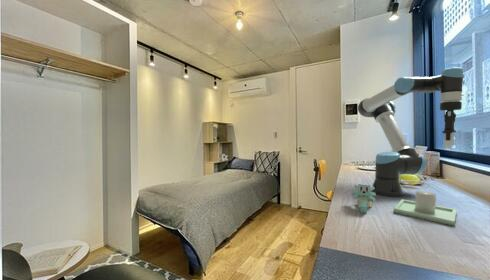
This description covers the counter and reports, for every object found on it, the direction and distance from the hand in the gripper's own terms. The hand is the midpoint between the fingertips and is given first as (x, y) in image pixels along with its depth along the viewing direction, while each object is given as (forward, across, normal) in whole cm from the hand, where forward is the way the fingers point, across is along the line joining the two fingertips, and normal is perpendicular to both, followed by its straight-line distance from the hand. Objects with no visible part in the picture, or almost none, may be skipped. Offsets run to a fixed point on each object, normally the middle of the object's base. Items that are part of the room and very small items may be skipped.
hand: (448, 146), depth 107 cm
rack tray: (+29, -19, +6) cm, 35 cm away
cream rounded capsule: (+28, -19, +6) cm, 34 cm away
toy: (+29, -32, +27) cm, 51 cm away
